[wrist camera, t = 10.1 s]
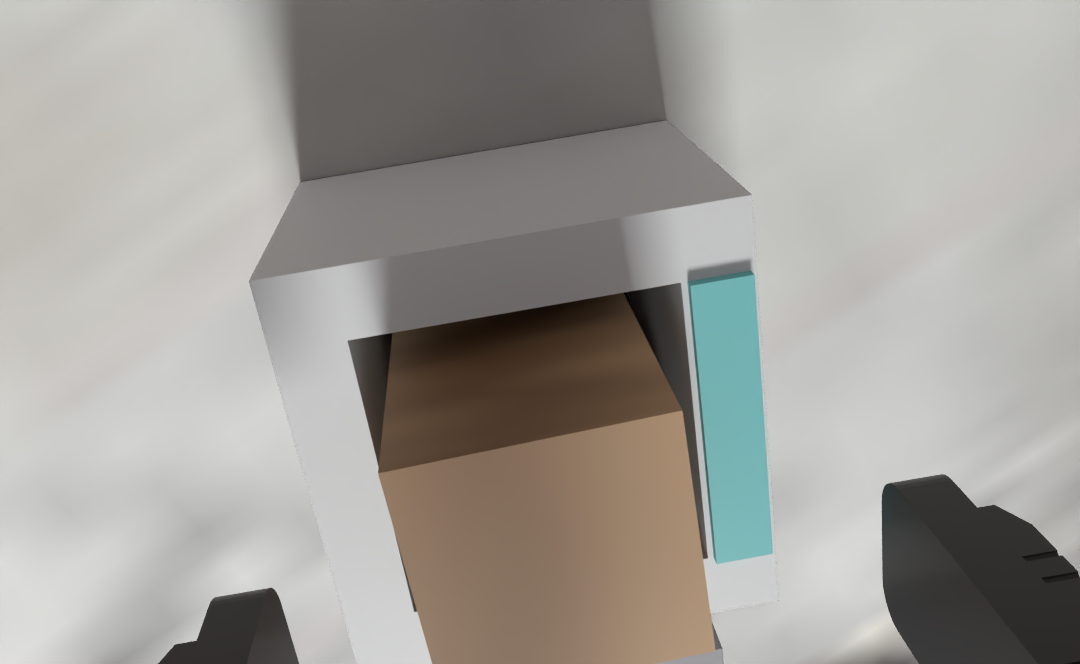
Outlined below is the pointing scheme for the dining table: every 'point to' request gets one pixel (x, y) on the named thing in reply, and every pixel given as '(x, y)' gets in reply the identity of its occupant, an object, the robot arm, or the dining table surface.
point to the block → (543, 490)
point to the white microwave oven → (507, 286)
